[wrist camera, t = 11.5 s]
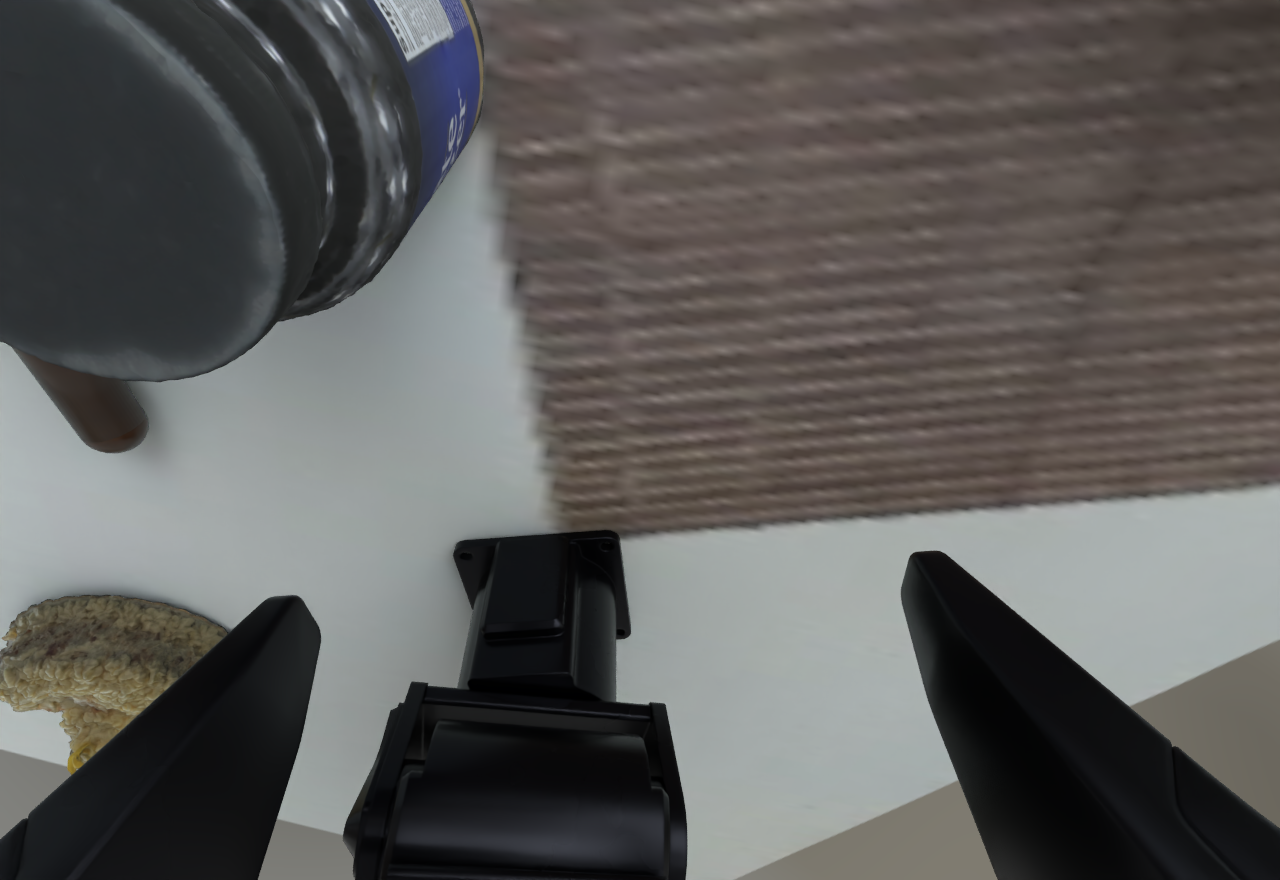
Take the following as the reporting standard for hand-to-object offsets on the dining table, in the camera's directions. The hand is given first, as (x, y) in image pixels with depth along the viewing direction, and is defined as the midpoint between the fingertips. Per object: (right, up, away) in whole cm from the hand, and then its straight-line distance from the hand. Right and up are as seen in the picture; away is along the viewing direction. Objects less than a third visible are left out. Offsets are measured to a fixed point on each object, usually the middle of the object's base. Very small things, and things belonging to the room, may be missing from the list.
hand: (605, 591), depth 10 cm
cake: (-22, -8, +21) cm, 31 cm away
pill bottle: (-6, +12, +6) cm, 15 cm away
